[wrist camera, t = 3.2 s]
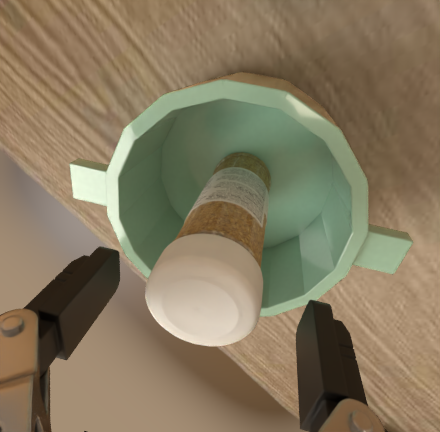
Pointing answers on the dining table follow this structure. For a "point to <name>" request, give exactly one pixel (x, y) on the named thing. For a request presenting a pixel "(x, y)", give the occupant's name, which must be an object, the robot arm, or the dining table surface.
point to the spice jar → (216, 259)
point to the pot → (278, 194)
